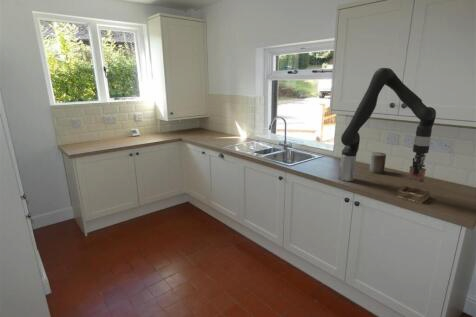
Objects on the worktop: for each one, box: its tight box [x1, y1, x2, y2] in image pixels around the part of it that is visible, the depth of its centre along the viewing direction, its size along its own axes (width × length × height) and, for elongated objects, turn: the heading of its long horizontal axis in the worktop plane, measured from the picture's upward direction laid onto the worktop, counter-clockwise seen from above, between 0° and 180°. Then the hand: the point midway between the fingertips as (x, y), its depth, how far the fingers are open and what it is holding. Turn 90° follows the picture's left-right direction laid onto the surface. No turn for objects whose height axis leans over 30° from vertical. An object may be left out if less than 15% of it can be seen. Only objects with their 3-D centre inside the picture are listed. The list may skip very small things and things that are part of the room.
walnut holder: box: [396, 185, 431, 204], centre depth 166 cm, size 13×13×4 cm
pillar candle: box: [369, 151, 387, 175], centre depth 209 cm, size 10×10×15 cm
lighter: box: [407, 163, 427, 183], centre depth 162 cm, size 8×3×10 cm, turn 44°
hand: (416, 173), depth 163 cm, fingers closed on lighter, 3 cm apart
